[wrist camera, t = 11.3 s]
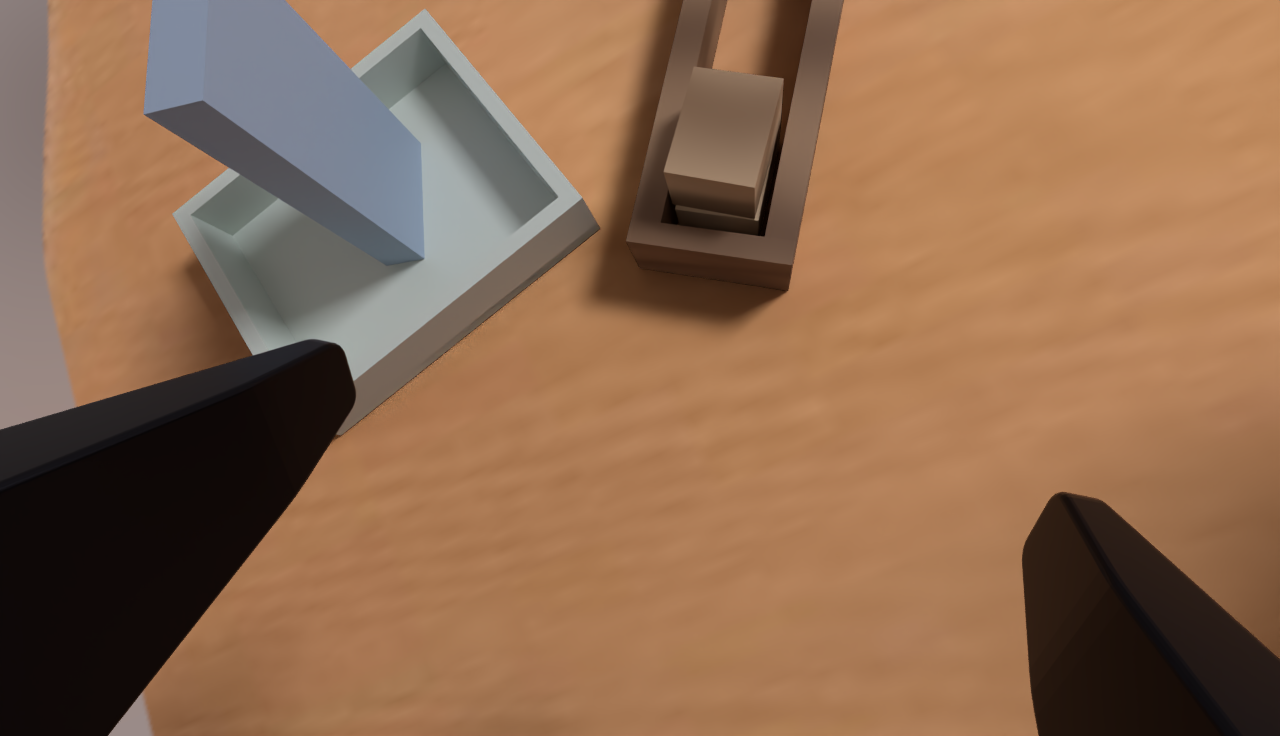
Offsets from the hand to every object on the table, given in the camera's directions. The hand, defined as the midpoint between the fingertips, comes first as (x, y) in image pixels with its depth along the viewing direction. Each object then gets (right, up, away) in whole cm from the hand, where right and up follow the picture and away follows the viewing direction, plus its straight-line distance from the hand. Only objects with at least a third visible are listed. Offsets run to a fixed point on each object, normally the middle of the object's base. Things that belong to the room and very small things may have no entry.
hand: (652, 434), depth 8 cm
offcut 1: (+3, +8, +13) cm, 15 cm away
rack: (+4, +12, +16) cm, 20 cm away
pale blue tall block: (-9, +7, +17) cm, 21 cm away
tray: (-10, +6, +17) cm, 21 cm away
